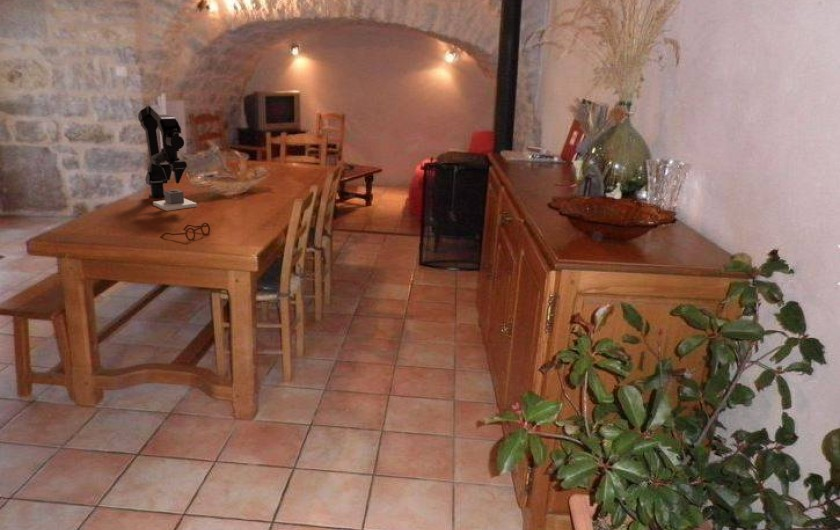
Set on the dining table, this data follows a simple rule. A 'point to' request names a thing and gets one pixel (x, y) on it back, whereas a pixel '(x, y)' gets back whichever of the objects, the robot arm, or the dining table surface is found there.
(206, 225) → the glasses
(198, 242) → the dining table surface
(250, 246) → the dining table surface
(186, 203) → the base plate
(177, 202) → the grey box housing
